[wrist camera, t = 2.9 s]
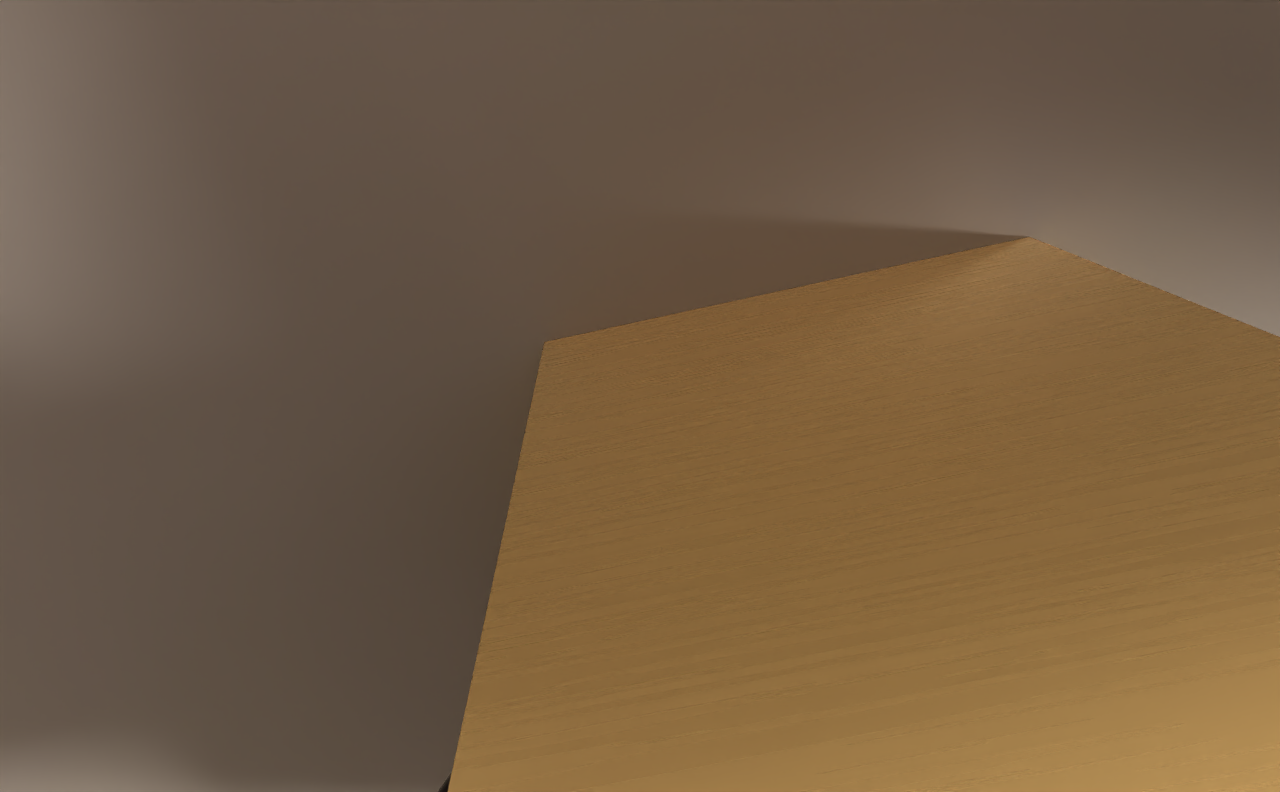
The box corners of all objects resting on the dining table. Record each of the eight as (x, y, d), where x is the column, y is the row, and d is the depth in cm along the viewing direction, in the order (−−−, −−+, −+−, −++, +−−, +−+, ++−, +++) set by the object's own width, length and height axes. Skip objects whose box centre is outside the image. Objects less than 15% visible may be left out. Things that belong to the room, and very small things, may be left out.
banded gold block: (539, 343, 7) (381, 1026, 2) (1034, 236, 7) (2209, 701, 2) (665, 794, 10) (737, 1644, 4) (1039, 723, 9) (1572, 1526, 4)
